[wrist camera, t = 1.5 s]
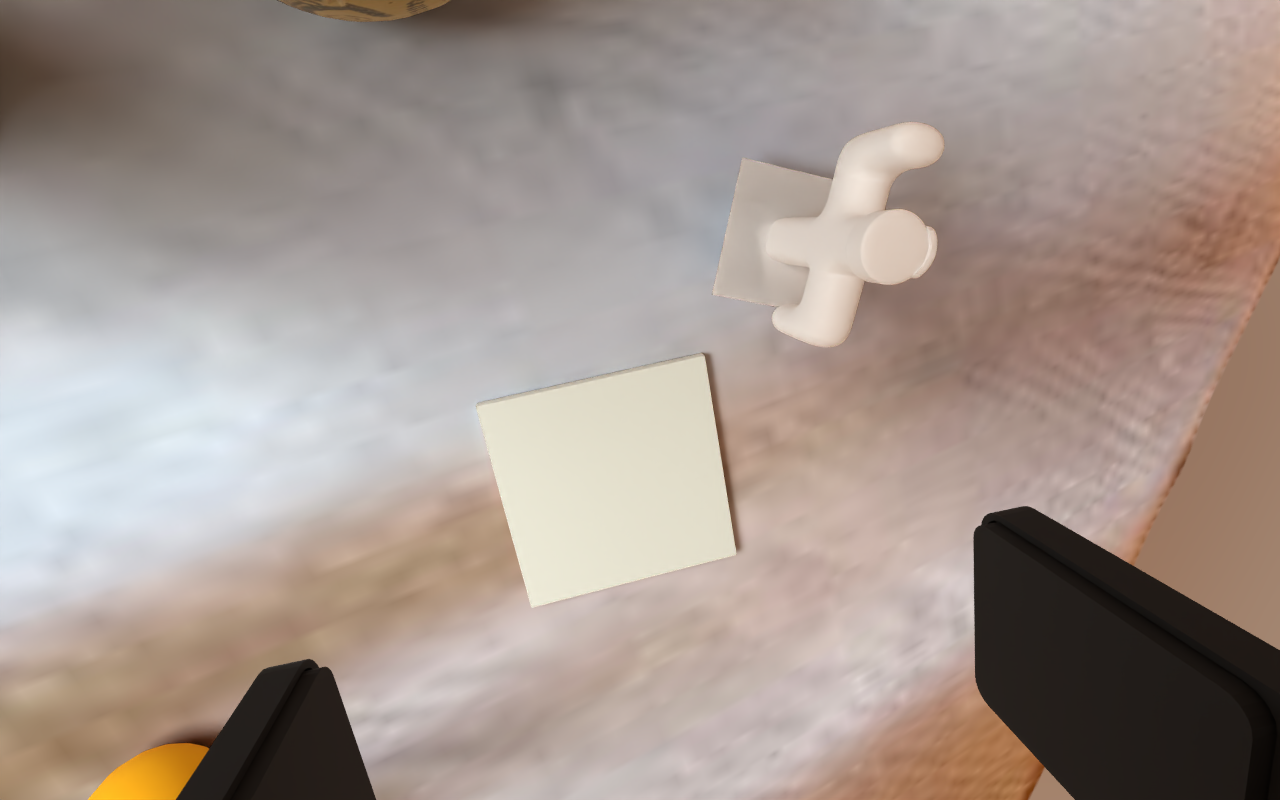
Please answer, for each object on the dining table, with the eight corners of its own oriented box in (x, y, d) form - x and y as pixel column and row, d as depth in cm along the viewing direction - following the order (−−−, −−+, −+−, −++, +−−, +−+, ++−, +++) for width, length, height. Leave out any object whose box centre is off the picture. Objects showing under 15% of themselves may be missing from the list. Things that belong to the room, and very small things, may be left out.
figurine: (691, 306, 39) (785, 354, 24) (726, 143, 36) (852, 92, 22) (800, 326, 40) (948, 383, 26) (840, 171, 38) (1026, 140, 24)
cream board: (477, 403, 38) (475, 406, 37) (701, 353, 40) (704, 355, 39) (531, 600, 42) (531, 607, 41) (732, 548, 44) (736, 554, 43)
